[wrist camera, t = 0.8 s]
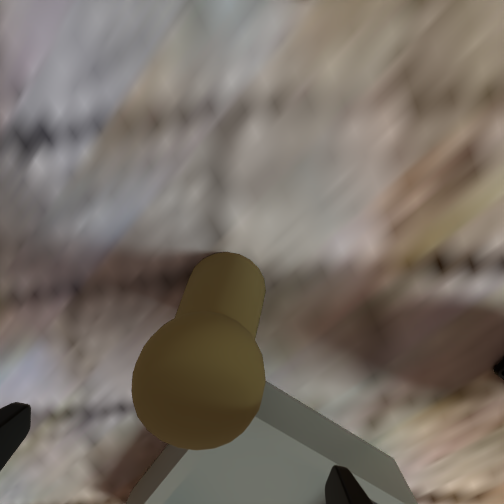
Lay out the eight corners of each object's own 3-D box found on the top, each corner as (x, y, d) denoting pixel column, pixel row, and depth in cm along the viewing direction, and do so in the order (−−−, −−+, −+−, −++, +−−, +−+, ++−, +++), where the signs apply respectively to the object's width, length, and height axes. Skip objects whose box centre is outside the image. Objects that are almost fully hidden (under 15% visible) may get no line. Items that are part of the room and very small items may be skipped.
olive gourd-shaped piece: (274, 313, 19) (299, 461, 9) (203, 333, 20) (143, 495, 9) (252, 242, 18) (249, 312, 7) (176, 264, 19) (69, 361, 8)
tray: (394, 459, 23) (423, 514, 19) (278, 564, 26) (283, 629, 22) (233, 361, 20) (228, 400, 17) (131, 491, 24) (106, 549, 20)
